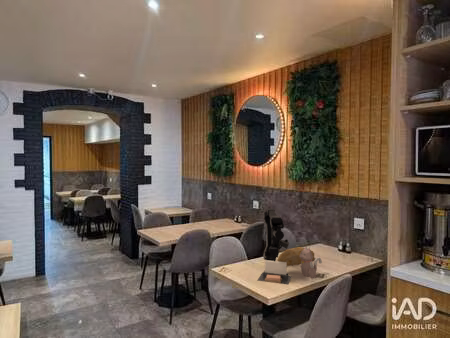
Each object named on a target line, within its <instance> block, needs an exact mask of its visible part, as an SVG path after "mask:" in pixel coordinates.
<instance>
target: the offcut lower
mask: <svg viewBox="0 0 450 338" xmlns="http://www.w3.org/2000/svg"><path fill="white" fill-rule="evenodd" d="M266 277H267V276H266ZM281 281H282V278H280V281H277V280H266V278H265V282H264V283H271V282H272V283H274V284H279V283H280V285H282V284H281Z"/></svg>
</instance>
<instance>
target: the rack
mask: <svg viewBox="0 0 450 338" xmlns="http://www.w3.org/2000/svg"><path fill="white" fill-rule="evenodd" d="M267 275H278V276H280V278H282V281H281V284H280V283H278V284H280V285H286V286H287V285H288V286H289V285H290V282H291V279H292V275H289V272H286V275H282V274H274V273H266V272H265V269H264V271H263V272H262V273H261V274H260V276H259V277H258V278H257V280H256V281H259V282H264V283H266V282H265V278H266V276H267ZM270 283H272V282H270Z"/></svg>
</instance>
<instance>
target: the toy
mask: <svg viewBox="0 0 450 338" xmlns="http://www.w3.org/2000/svg"><path fill="white" fill-rule="evenodd" d="M303 248H304V250H303V251H301V253H300V255H299V257H300V258H301V264H300V270H301V274H302V275H303V276H304V277H309V278H310V279H314V278H317V268H318V267H317V264H318V263H319V264H322V263H323V261H322V258H321V257H320V256H319V257H315V258H314V260H313V261H312V259H313V256H312V253H311V251H312V249H310V247H307V246H304V247H303Z"/></svg>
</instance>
